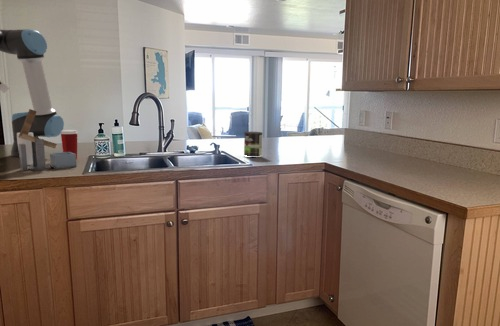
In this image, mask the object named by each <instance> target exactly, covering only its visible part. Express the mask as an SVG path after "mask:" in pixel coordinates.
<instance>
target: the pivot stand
mask: <svg viewBox="0 0 500 326" xmlns="http://www.w3.org/2000/svg"><path fill="white" fill-rule="evenodd" d="M44 140H45V139H43V138H39V139H35V142H36V143H35V142H32V141H31V146H32V159H33V165H28V168H29V169H30V170H31V171H34V172H37V171H38V172H39V171H49V169H50V167H51V166H47V164H46V155H45V153H46V152H45V145H44Z"/></svg>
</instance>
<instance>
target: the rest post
mask: <svg viewBox="0 0 500 326" xmlns="http://www.w3.org/2000/svg"><path fill="white" fill-rule="evenodd" d="M19 156H20V157H19V165H20V171H22V172H28V168H29V167H28V165H27V156H26V145H25V144H19Z"/></svg>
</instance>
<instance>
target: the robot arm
mask: <svg viewBox="0 0 500 326" xmlns="http://www.w3.org/2000/svg"><path fill="white" fill-rule="evenodd" d="M47 49H48V43H47V40H46V39H45V37H44V35H43V34H41V32H39V31H38V30H36V29H30V28H26V29H25V28H23V29H0V52H2V53H5V54H9V55H16V56H17V57H16V58H17V60H18V61H20V63H22V67H23V70H24V75H25V80H26V85H27V88H28V92H29V96H30V100H31V105H32V108H33V109H32V110H34V111H37V112H36V115H35V117H34V120H33V123H32V125H31V128H30V131H29V132H32V133H33V135H34V137H36V138H40V137H42V138H43V137H44V138H55V137H58V136H61V134H60V133H61V131H62V130H64V126H65V123H64V118H62V117H61V115H58V113H57V110H56V109H55V108H53V106H52V101H51V97H50V94H49V88H48V83H47V79H46V74H45V71H44V66H43V65H44V64H43V60H44V58H45V55H44V54H45V53H46V52H47ZM8 90H10V87H8V86H7V85H6V84H5V83H4V82H3V81H2V80H0V91H1V92H2V93H6V92H7V91H8ZM27 114H28V111H26V112H25V111H24V112H16V113H12V115H11V126H12V127H11V128H12V134H13V135H12V136H13V137H12V138H13V143H12V146H11V150H10V156H11V157H14V158H15V157H17V158H20V156H19V149H18V144H17V133H20V132H21V130H22V127H23V124H24V122H25V119H26V117H27Z"/></svg>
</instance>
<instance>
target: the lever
mask: <svg viewBox="0 0 500 326" xmlns="http://www.w3.org/2000/svg"><path fill="white" fill-rule="evenodd" d="M27 112H28V114H27V117H26V119H25V122H24V124H23V127H22V130H21V132H20V134H19V138H22V139H25V140H28V141H32V142H35V139H40V137H38V138H36V137H33V136H30V135H28V133H29V131H30V128H31V125H32V123H33V120H34V117H35V115H36V112H37V111H34V109H31V108H30V109H28V111H27ZM35 143H36V142H35ZM57 145H58V144H57V143H55V142H51V141H48V140H45V139H44V147H49V148H52V149H56V148H57Z"/></svg>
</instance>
